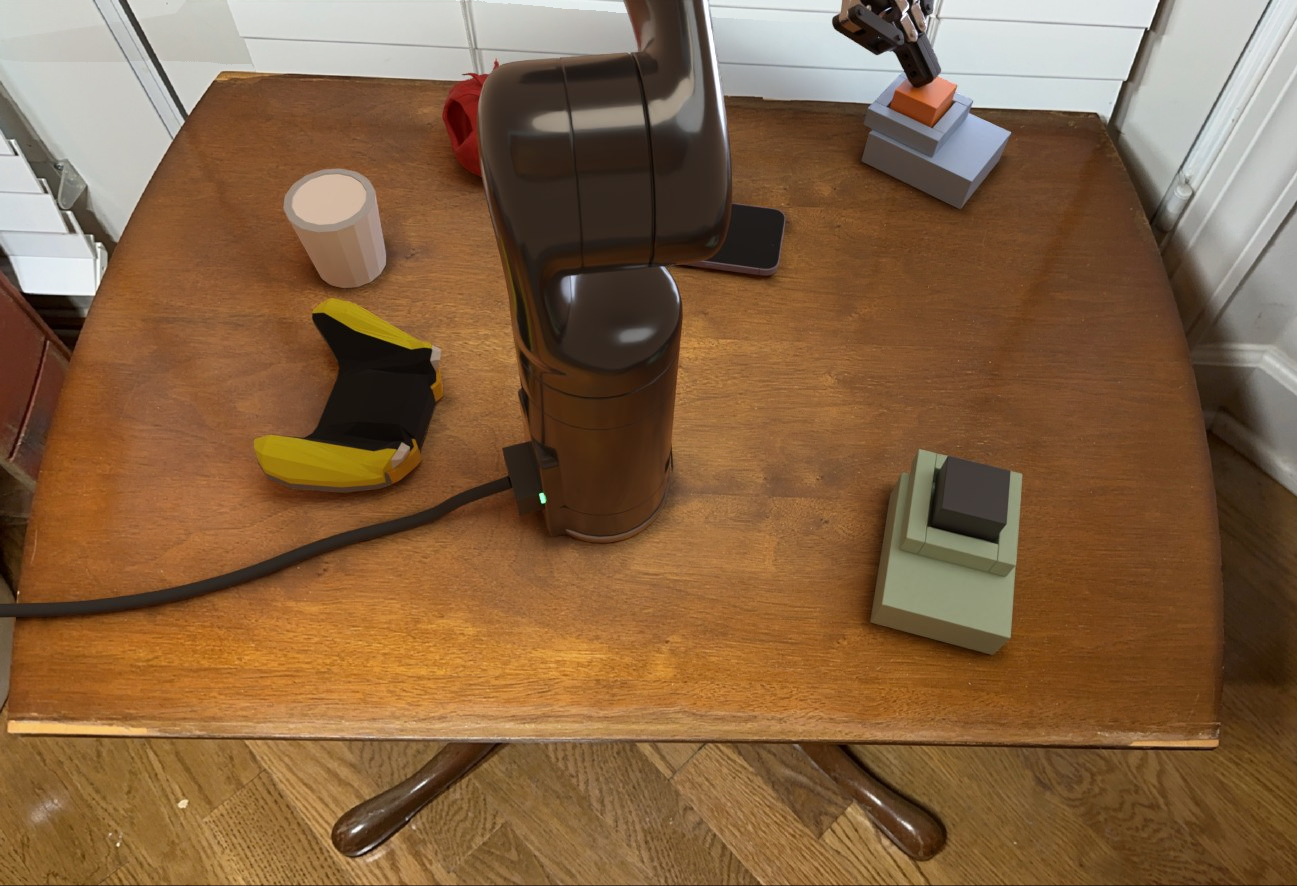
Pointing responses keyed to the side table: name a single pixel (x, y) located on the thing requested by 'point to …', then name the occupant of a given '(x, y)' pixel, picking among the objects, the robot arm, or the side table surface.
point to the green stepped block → (944, 568)
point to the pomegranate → (465, 120)
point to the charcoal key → (971, 498)
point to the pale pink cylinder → (338, 225)
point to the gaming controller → (361, 408)
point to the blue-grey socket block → (933, 147)
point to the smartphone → (750, 241)
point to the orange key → (924, 100)
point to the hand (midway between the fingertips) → (928, 81)
